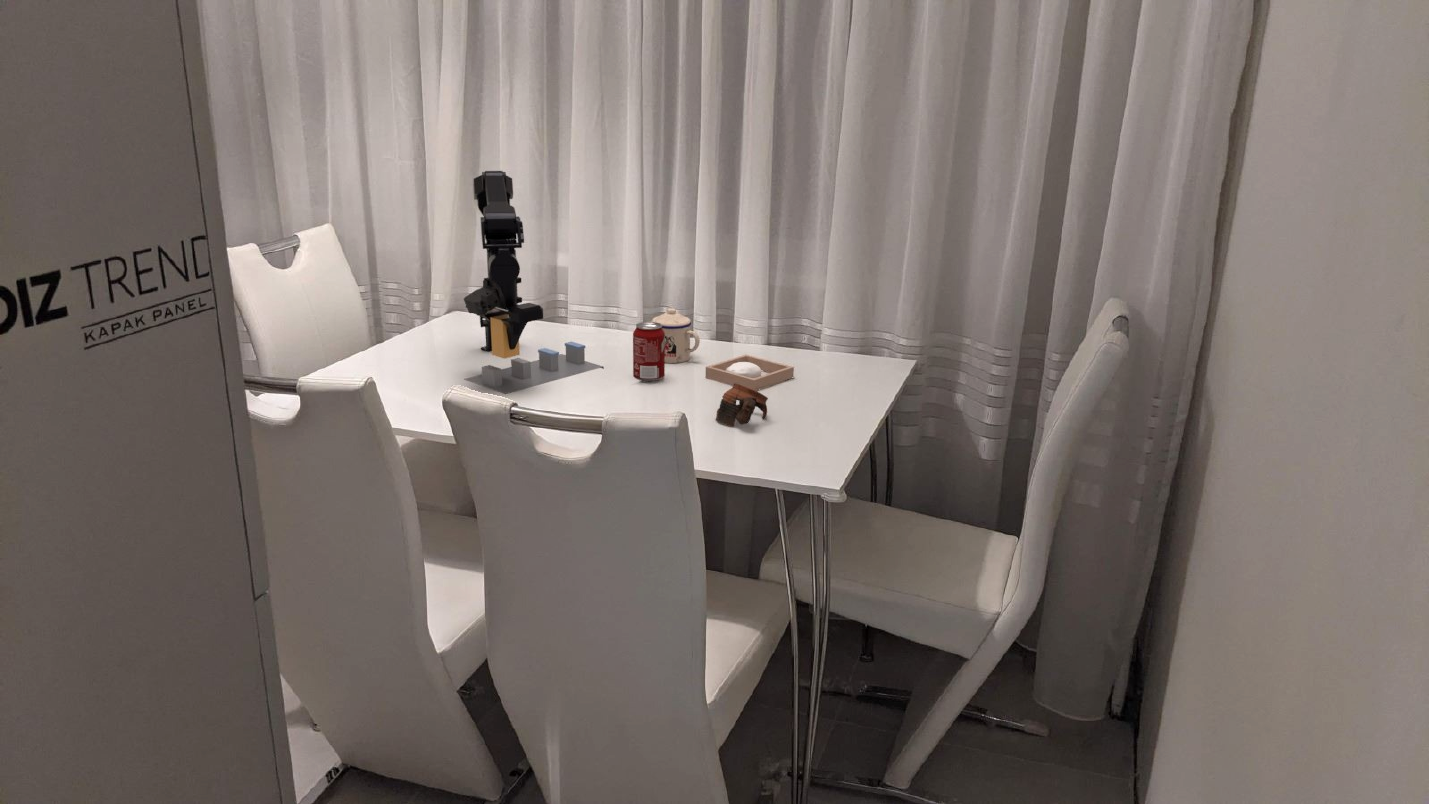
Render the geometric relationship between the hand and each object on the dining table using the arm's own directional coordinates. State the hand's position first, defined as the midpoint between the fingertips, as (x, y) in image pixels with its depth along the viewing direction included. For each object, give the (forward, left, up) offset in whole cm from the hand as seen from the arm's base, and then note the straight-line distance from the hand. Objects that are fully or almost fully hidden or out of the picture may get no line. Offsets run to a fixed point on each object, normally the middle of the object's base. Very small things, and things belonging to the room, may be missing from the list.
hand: (505, 347), depth 222 cm
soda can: (+18, +24, -8) cm, 31 cm away
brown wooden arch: (+50, +18, -9) cm, 53 cm away
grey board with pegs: (0, +8, -8) cm, 11 cm away
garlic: (+32, +38, -9) cm, 51 cm away
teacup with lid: (+12, +39, -8) cm, 42 cm away
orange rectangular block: (0, 0, -2) cm, 2 cm away
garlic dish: (+33, +40, -8) cm, 53 cm away
